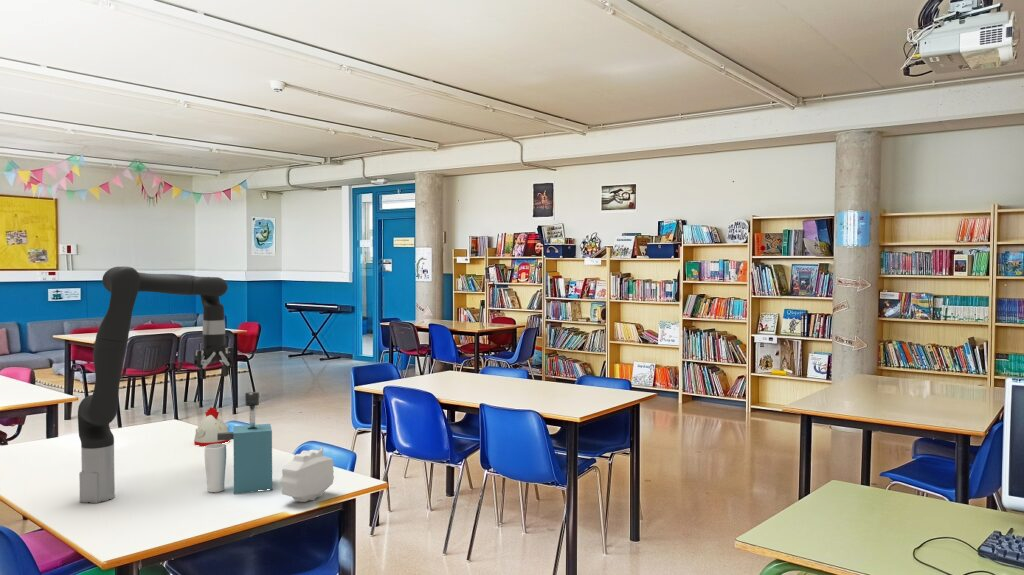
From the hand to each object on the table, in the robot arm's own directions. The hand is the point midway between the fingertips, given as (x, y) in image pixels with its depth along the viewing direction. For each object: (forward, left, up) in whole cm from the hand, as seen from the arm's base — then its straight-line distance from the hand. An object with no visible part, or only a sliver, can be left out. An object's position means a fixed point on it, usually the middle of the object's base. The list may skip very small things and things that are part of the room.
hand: (214, 377), depth 269 cm
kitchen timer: (+43, +29, -35) cm, 63 cm away
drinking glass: (-19, -12, -35) cm, 41 cm away
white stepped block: (-22, -46, -35) cm, 62 cm away
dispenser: (-14, -20, -35) cm, 42 cm away
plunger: (-13, -22, -18) cm, 31 cm away
